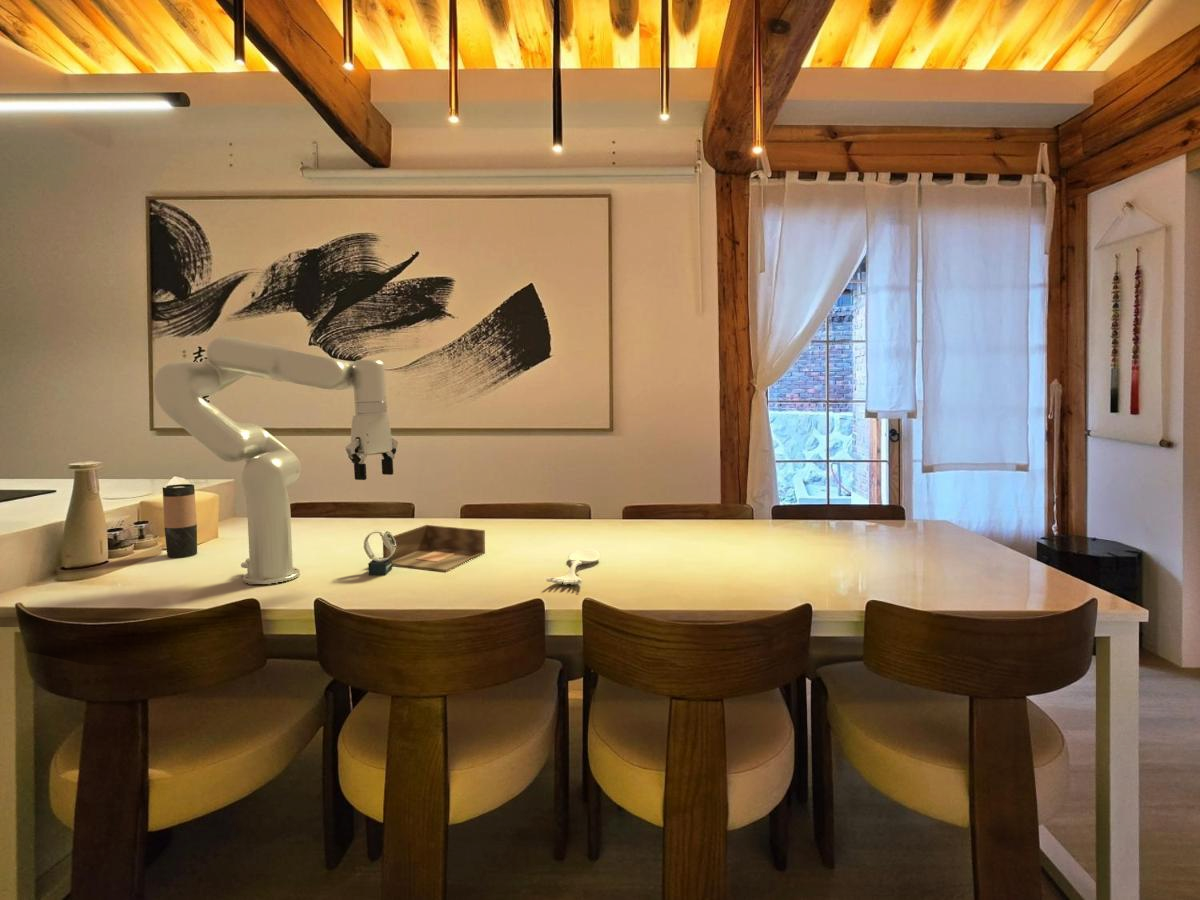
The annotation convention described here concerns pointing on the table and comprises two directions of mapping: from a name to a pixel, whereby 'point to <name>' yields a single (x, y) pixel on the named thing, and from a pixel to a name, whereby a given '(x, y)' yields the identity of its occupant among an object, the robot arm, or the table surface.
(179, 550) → the travel mug
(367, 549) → the watch
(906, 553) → the table surface
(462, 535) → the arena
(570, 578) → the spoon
